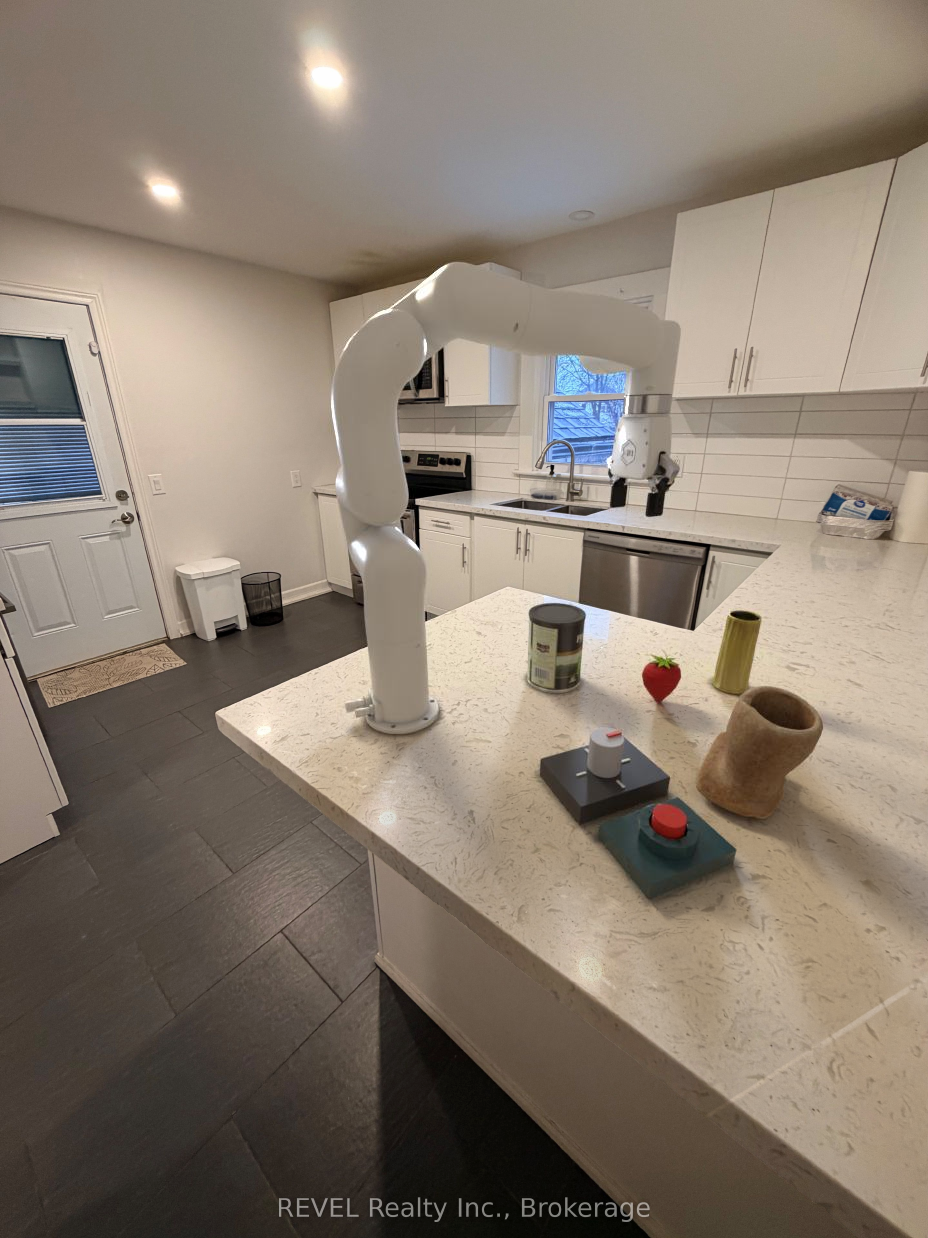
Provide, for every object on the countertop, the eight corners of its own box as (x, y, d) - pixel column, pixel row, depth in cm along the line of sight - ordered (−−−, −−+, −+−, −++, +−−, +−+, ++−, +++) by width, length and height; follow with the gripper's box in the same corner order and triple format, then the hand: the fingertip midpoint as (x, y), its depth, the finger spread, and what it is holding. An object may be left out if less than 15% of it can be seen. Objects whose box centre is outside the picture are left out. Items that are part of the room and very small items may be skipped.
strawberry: (630, 702, 88) (637, 651, 84) (654, 688, 92) (661, 639, 88) (660, 716, 84) (669, 664, 80) (684, 701, 88) (693, 650, 84)
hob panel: (579, 825, 62) (580, 806, 61) (539, 775, 70) (540, 757, 69) (667, 795, 67) (670, 776, 65) (620, 751, 75) (622, 734, 74)
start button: (666, 843, 55) (668, 831, 54) (644, 820, 58) (646, 809, 57) (691, 833, 56) (694, 822, 55) (668, 811, 59) (670, 800, 58)
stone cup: (787, 844, 59) (820, 739, 53) (684, 798, 66) (703, 702, 60) (806, 776, 69) (836, 683, 64) (716, 743, 76) (735, 657, 71)
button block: (648, 900, 52) (653, 872, 51) (597, 837, 60) (600, 812, 59) (733, 863, 56) (740, 837, 55) (675, 809, 64) (680, 785, 63)
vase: (747, 681, 94) (763, 612, 88) (749, 697, 89) (766, 624, 83) (711, 675, 96) (725, 607, 91) (711, 690, 91) (726, 619, 85)
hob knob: (599, 781, 65) (603, 748, 63) (580, 761, 69) (583, 729, 66) (627, 773, 66) (631, 740, 64) (607, 753, 70) (610, 722, 68)
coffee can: (579, 669, 99) (585, 603, 94) (580, 696, 90) (586, 625, 85) (528, 665, 101) (530, 600, 96) (523, 691, 92) (526, 621, 87)
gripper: (596, 408, 88) (588, 505, 95) (666, 407, 73) (651, 522, 80) (630, 408, 91) (621, 502, 97) (705, 406, 76) (687, 518, 82)
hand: (634, 511), depth 89 cm, fingers open, 9 cm apart
